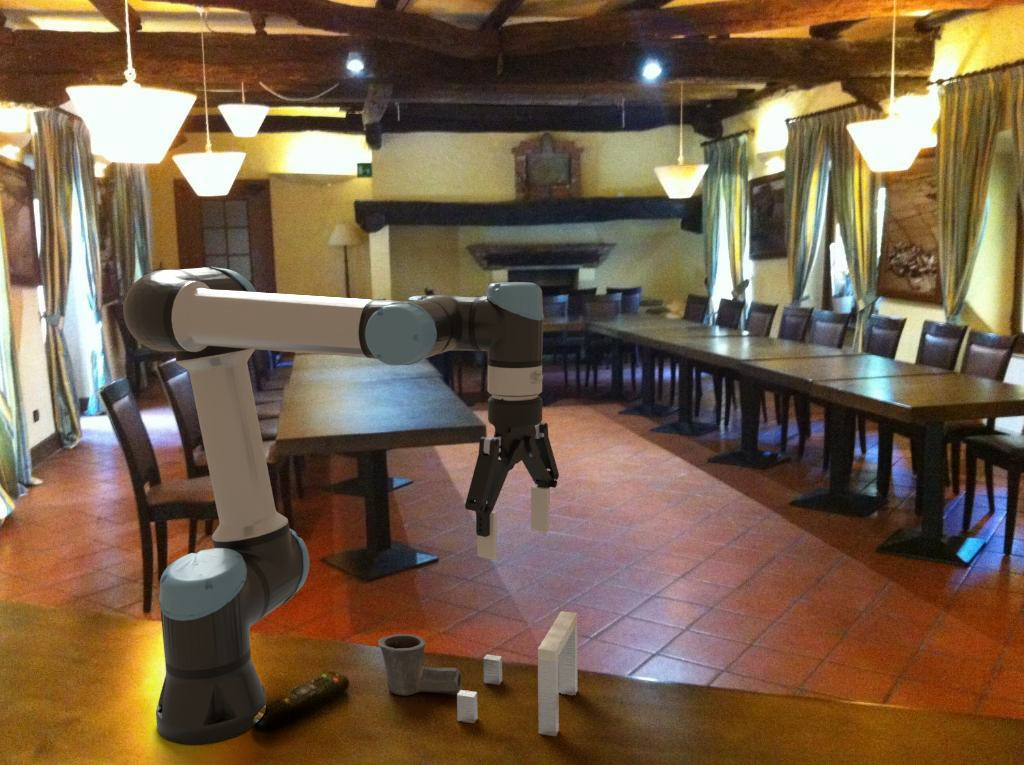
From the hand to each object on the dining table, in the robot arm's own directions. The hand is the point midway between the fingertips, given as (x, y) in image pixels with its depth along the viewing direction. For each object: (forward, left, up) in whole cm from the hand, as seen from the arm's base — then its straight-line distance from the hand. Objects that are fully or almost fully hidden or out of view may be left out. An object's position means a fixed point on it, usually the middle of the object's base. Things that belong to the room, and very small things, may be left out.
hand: (514, 543), depth 124 cm
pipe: (-16, +1, -26) cm, 30 cm away
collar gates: (0, +1, -25) cm, 25 cm away
